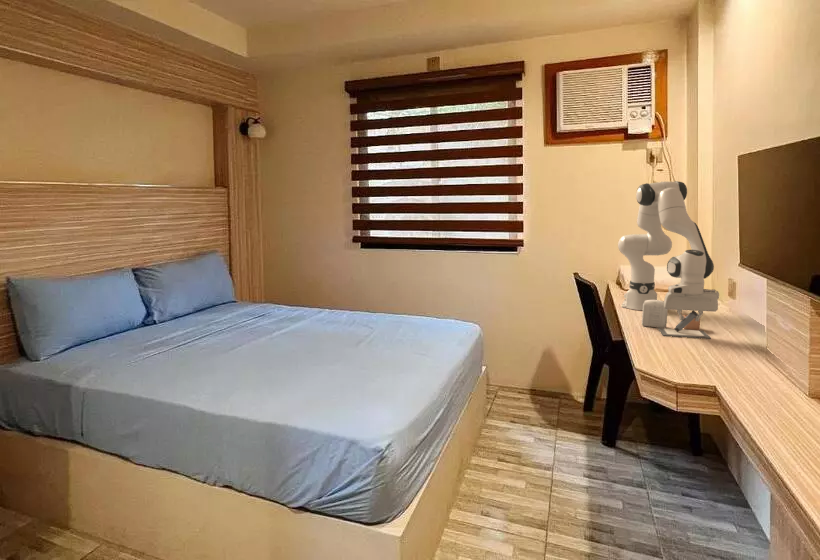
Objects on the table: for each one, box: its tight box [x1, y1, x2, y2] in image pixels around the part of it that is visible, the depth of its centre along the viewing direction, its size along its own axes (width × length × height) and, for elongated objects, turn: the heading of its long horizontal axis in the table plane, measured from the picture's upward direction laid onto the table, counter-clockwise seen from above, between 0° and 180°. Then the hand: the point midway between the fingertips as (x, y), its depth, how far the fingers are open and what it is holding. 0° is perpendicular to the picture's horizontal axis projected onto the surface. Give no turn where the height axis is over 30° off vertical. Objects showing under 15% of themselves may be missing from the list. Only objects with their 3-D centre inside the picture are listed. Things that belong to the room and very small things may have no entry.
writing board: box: [657, 327, 712, 340], centre depth 219 cm, size 12×18×1 cm, turn 74°
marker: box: [673, 311, 699, 332], centre depth 218 cm, size 3×3×11 cm
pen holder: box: [682, 314, 701, 330], centre depth 227 cm, size 6×6×6 cm
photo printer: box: [641, 299, 669, 328], centre depth 231 cm, size 10×4×12 cm, turn 61°
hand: (689, 320), depth 217 cm, fingers closed on marker, 4 cm apart
